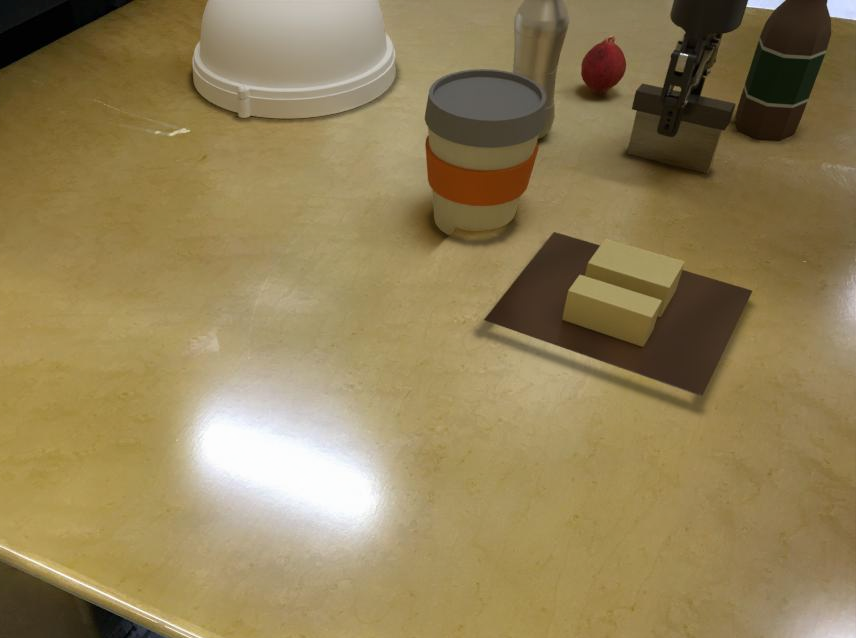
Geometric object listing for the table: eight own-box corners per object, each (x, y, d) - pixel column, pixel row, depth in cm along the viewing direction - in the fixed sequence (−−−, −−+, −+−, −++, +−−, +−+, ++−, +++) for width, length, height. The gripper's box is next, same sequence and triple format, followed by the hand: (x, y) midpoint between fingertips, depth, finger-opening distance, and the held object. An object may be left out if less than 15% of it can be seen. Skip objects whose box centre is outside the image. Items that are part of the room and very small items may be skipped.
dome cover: (257, 19, 148) (251, -74, 138) (428, 47, 138) (434, -51, 128) (149, 98, 128) (133, -4, 118) (340, 138, 118) (340, 30, 108)
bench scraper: (715, 168, 110) (736, 103, 104) (710, 177, 108) (730, 111, 102) (627, 146, 114) (642, 83, 108) (620, 155, 113) (635, 90, 107)
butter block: (675, 291, 90) (685, 261, 87) (660, 317, 87) (669, 287, 84) (598, 267, 93) (605, 237, 91) (581, 292, 90) (587, 262, 88)
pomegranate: (599, 106, 122) (611, 48, 117) (567, 92, 126) (578, 34, 120) (628, 94, 125) (641, 37, 119) (596, 80, 128) (607, 24, 123)
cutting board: (748, 302, 91) (753, 290, 90) (697, 408, 80) (702, 396, 79) (551, 242, 99) (553, 231, 98) (481, 331, 88) (483, 319, 87)
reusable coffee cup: (511, 260, 97) (530, 131, 86) (402, 235, 101) (408, 109, 90) (541, 203, 105) (562, 78, 95) (439, 182, 109) (448, 60, 99)
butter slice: (653, 330, 86) (662, 299, 83) (643, 347, 84) (652, 317, 81) (573, 303, 89) (579, 274, 86) (561, 320, 87) (568, 290, 84)
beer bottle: (721, 117, 119) (781, -81, 103) (775, 110, 120) (843, -86, 104) (752, 144, 114) (821, -60, 97) (808, 138, 115) (886, -66, 98)
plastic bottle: (525, 151, 114) (549, -13, 100) (489, 130, 118) (508, -30, 104) (561, 137, 116) (591, -25, 103) (525, 117, 121) (549, -41, 107)
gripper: (735, 6, 90) (691, 153, 102) (768, -36, 99) (724, 103, 110) (661, -7, 93) (626, 137, 105) (699, -47, 102) (663, 90, 113)
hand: (677, 119), depth 107 cm, fingers open, 8 cm apart
